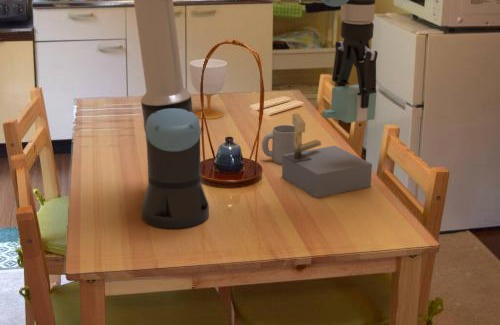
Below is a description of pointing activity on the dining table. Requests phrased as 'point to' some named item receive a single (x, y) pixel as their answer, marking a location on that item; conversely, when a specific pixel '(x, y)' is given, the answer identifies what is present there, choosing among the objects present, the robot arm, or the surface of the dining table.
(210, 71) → the cup
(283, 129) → the cup
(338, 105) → the cover
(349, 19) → the robot arm
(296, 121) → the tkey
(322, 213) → the dining table surface
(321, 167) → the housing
